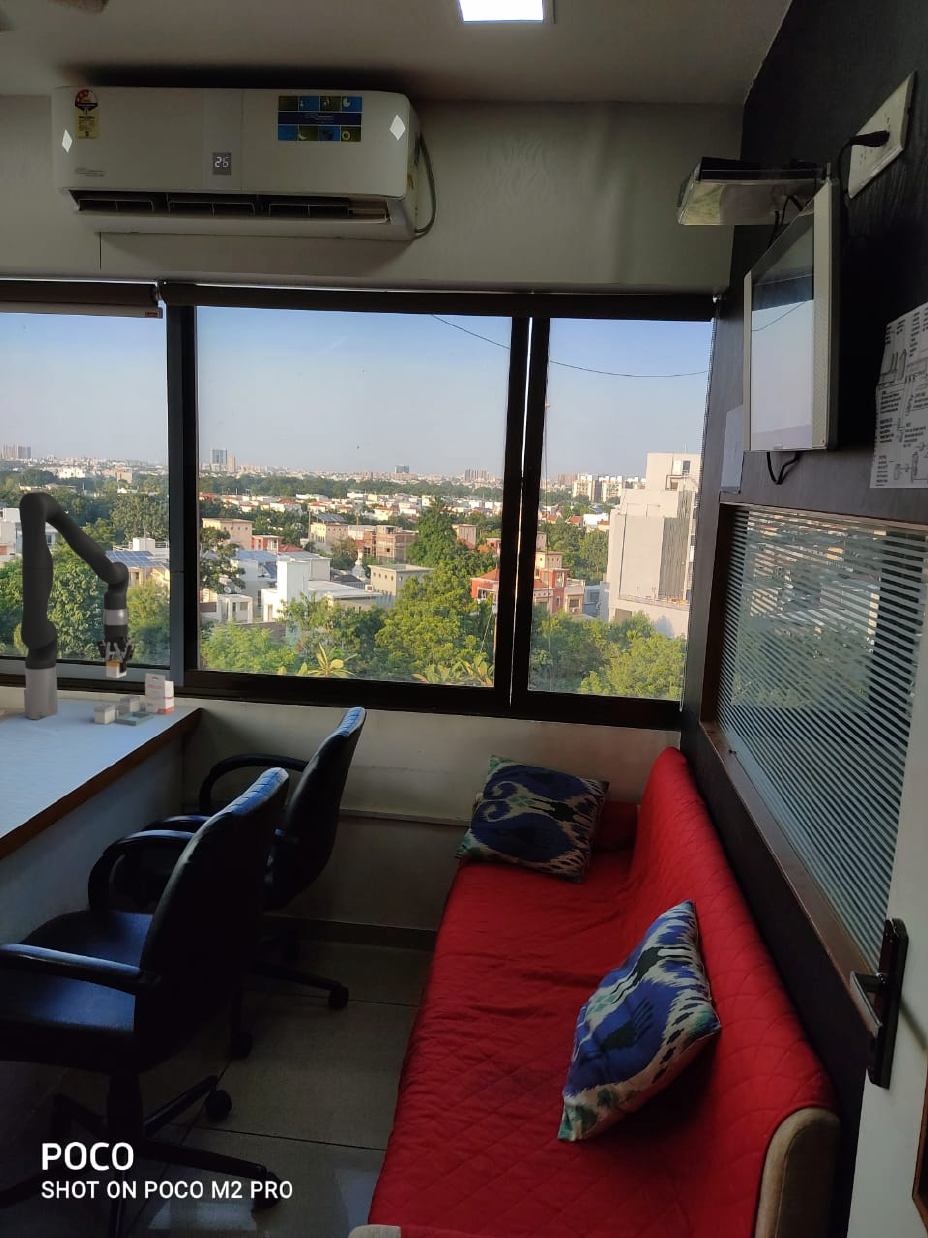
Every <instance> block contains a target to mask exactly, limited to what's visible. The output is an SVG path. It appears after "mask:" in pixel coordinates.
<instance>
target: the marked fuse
mask: <svg viewBox="0 0 928 1238" xmlns="http://www.w3.org/2000/svg"><path fill="white" fill-rule="evenodd" d="M119 662H120V660H119V658H114V659H112V661H108V662H105V667H106V668H105V669H106V670H105V671H106V672H105V673H106V674H105V676H106V677H107V678H113V679H119V678H121V677H124V676H127V670H126V671H125V672H124V673H120V671H119V664H120V663H119ZM127 662H128V661H127ZM127 662H126V665H128V664H127Z"/></svg>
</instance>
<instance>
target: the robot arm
mask: <svg viewBox="0 0 928 1238" xmlns="http://www.w3.org/2000/svg"><path fill="white" fill-rule="evenodd" d="M20 498H21V499H20V501H19V503H18V510H19V519H20V521H19V522H20V528H21V551H22V552H21V557H22V558H21V559H22V560H21V581H22V618H21V626H20V639H21V641H22V644H23V645H24V646H25V647H27V648H28V651H27V655H26V657H25V659H24V666H25V668H24V669H25V688H24V689H23V699H24V700H23V701H24V702H23V703H24V716H25V717H27V718H28V719H29V720H38V721H39V720H43V719H45V718H48V717H52V716H56V715H58V713H59V710H58V709H59V706H58V702H59V701H58V683H57V682H58V681H57V676H58V675H57V659H58V652H59V651H58V650H59V648H58V646H59V645H58V644H59V641H58V630H57V627H56V625H55V623H54V622H53V621H51V620H50V619H49V618H48V606H49V600H50V596H51V593H52V590H53V585H54V559H53V555H52V553H51V551H50V550H51V549H50V547H49V545H48V542H47V537H46V523H47V524H49V525H50V526H51V527H53V528H54V529H55V530H56V531H57V532H58V533H59V534H60V535H61V536H62V537H63V539H64V541H65V542H66V543H67V545H68V547H69V548H70V549H71V550H72V551H73V553H75V554H76V555H77V556H78V557H79V559H82V560H83V562H85V563H86V564H87V565H89V567H90V568H91V570H92V571H93V572H94V574H95V575H96V576H97V577H98V578H99V579H100V580H101V581H102V582H103V583H105V584H107V588H106V591H105V592H104V594H103V616H102V617H103V618H102V619H103V621H102V622H103V625H102V626H103V636H104V638H103V639H100V640H97V641H96V646H97V648H98V651H99V655H100V658H101V659H104V660H105V661H106V662H108V661H112V660H114V655H115V654H116V655H117V657H118V659H119V660H120V662H119V663H120V664H119V671H120V673H124V672H125V671H126V672H127V664H126V662H129V661H132V659H133V655H134V652H135V649H136V644H135V643H130V642H129V639H128V634H129V625H128V624H129V623H128V620H129V619H128V618H129V616H128V608H127V607H128V603H127V593H128V587H129V583H130V582H129V581H130V571H129V567H128V566H127V565H126V564H125V563H124V562H122V561H112V560H111V559H110V558H109V557H108V556H107V551H106V550H105V549H104V548H103V547H102V546H101V545H100V544H99V543H98V542H97V541H95V539H93V538H92V537H91V536H90V535H88V533H87V532H85V531H84V530H83V529H82V528H81V527H80V526H79V525H78V524H77V522H75V521H74V520H73V519H72V517H71V516H70V515H69V514H68V512H66V511H65V509H64V508H63V507H62V505H61V504H60V503H59V502H58V501H57V500H56V498H54V497H53V496H52V495H51V494H50V493H48V492H44V491H42V492H40V491H38V492H28V493H26V494H24V495H23V496H22V497H20ZM106 662H105V663H106Z"/></svg>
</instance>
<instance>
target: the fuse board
mask: <svg viewBox="0 0 928 1238" xmlns="http://www.w3.org/2000/svg"><path fill="white" fill-rule="evenodd" d="M140 700H141V696H140V695H135V694H128V695H125V696H122V697H120V698H119V702H120V703H117V704H116V705H113V704H107V703H104V704H101V705H98V706H95V707H94V708H93V712H94V720H92V721H90V722H89V723H91V724H98V725H105V726H110V725H111V724H115V718H117V717H119V716H122V715H124V714H127V713H129V712H132V711H135V712H143V711H144V709H141V703H140V702H141V701H140ZM116 708H117V709H116Z"/></svg>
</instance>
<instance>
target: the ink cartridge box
mask: <svg viewBox="0 0 928 1238" xmlns="http://www.w3.org/2000/svg"><path fill="white" fill-rule="evenodd" d="M144 678H145V681H144V694H145V695H144V696H145V698H144V700H145V701H144V702H145V703H144V704H145V713H151V714H159V715H168V714H170V713H173V712H174V711H175V701H174V700H175V698H174V681H171V680H166V676H165V675H161V674H155V673H145V677H144ZM155 678H156V679H155Z"/></svg>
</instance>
